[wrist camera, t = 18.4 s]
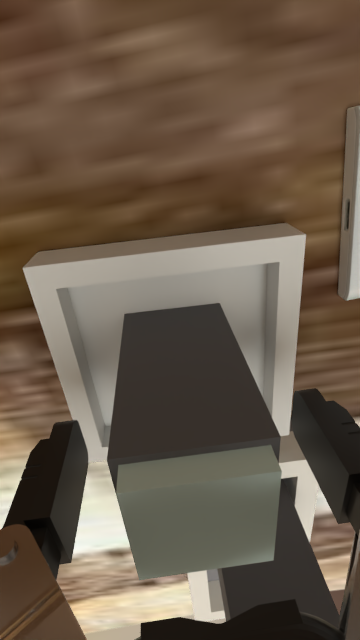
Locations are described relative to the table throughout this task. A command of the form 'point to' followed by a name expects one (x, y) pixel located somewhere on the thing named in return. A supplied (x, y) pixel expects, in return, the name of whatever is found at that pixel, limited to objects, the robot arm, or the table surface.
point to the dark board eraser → (192, 445)
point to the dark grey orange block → (280, 573)
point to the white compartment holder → (304, 499)
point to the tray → (165, 293)
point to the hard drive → (351, 211)
